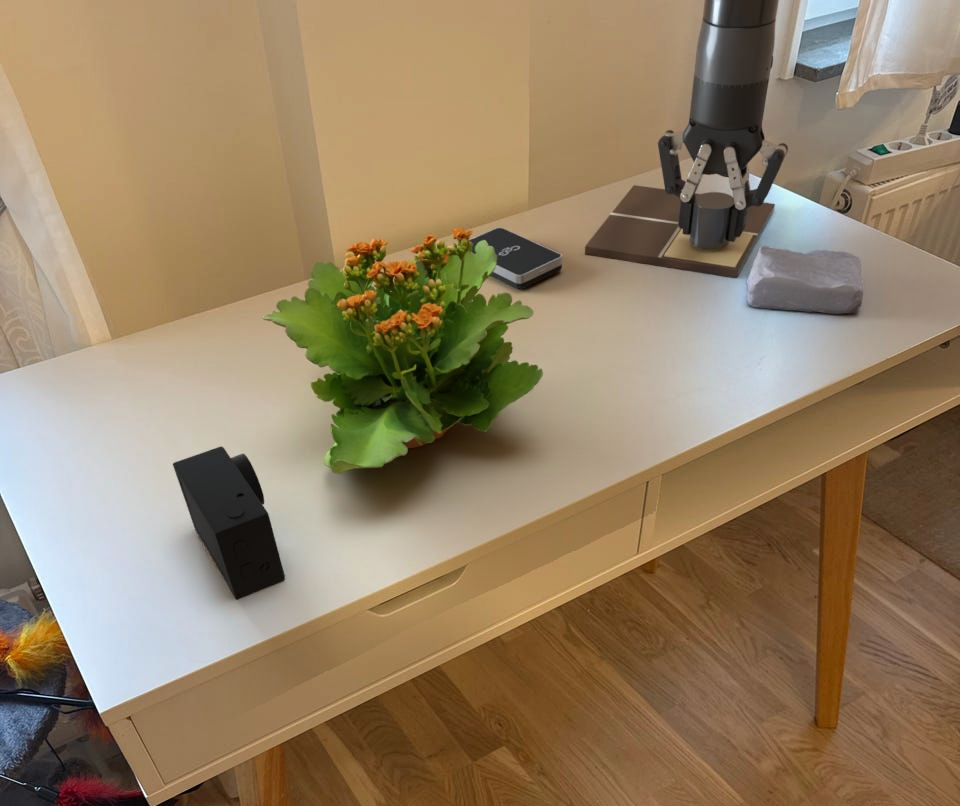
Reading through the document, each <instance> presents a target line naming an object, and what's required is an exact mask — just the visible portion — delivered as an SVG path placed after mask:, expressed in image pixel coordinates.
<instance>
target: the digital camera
mask: <svg viewBox="0 0 960 806" xmlns="http://www.w3.org/2000/svg"><path fill="white" fill-rule="evenodd" d="M172 466H173V469H174V473H175V476H176V478H177V481H178V485H179V487H180V490H181V492H182V497H183V499H184V501H185V504H186V507H187V510H188V513H189V516H190V519H191V522H192V525H193V527H194V530H195V532H196V533H197V535H198V536H199V538H200V540H201V542H202V543H203V545H204V547H205V548H206V550H207V552H208V554H209V555H210V557H211V559H212V561H213V562H214V564H215V566H216V568H217V569H218V570H219V572H220V574H221V576H222V578H223V579H224V581H225V583H226V585H227V586H228V588H229V590H230V591H231V594H232V595H233V597H234V598H235V600H238V599H241V598H243V597H246V596H248V595H251V594H253V593H255V592H258V591H260V590H262V589H265V588H267V587H271V586H273V585H276V584H278V583H280V582H282V581H284V580H285V579H286V575H285V572H284V568H283V564H282V560H281V557H280V553H279V549H278V545H277V541H276V537H275V534H274V530H273V527H272V522H271V518H270V515H269V512H268V511H267V509H266V508H265V506H264V505H265V497H264V491H263V489H262V486H261V483H260V480H259V478H258V475H257V473H256V471H255V468H254V466H253V465H252V463H251V461H250V460H249V458H248V456H247V455H246V454H245V453H240V454H238V455H235V456H233V457H231V456H230V455H229V453H228V452H227V451H226V449H225V447H223V446H218V447H214V448H212V449H209V450H207V451H206V450H205V451H204V452H200V453H198V454H195V455H192V456H188V457H186V458H183V459H180V460H177V461H174V462H173V463H172Z"/></svg>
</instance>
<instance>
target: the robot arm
mask: <svg viewBox="0 0 960 806" xmlns="http://www.w3.org/2000/svg"><path fill="white" fill-rule="evenodd" d="M779 2H780V0H704V2H703V4H704V5H703V12H702V19H701V25H700V30H699V34H698V38H697V45H696V51H695V52H696V53H695V63H694V72H693V81H692V82H693V83H692V89H691V90H692V91H691V100H690V109H689V118H688V123H687V125H686V127H685V129H684V130H682V131H676V132H675V131H673V130H672V129H668V130H666V131H665V132H664V134H663V135H662V136H661V138H659V140H658V141H657V148H658V154H659V159H660V167H661V173H662V179H663V185H664V189H665V191H666V192H667V193H668V194H674V195H676V196H678V197H679V199H680V212H679V222H678V225H679V228H680V229H683V234H685V235H689V234H690V227H691V219H692V210H693V201H694V198H695V197H696V196H695V193H696V192H697V190H698V188H699V186H700V183H701V182H702V179H703V177H704V175H707V176H711V175H718V176H720V177H722V178H728V181H729V188H730V189H731V191H732V197H734V202H735V206H734V207H733V209H732V214H731V221H730V228H729V234H728V241H731V242H734V241H735V240H736V238H737V237H740V236H741V234H742V232H743V230H744V229H745V224H746V218H747V212H748V207H750V206H761V205H762V204H763V202H764V203H765V200H766V198H767V197H768V195H769V193H770V190H771V188H772V186H773V184H774V182H775V180H776V178H777V176H778V173H779V171H780V169H781V167H782V164H783V162H784V160H785V158H786V156H787V154H788V151H789V147H788V145H787V144H786V143H785V142H784V143H783V142H781V143H778V144H775V143H774V142H772V141H768V140H766V138H765V134H764V131H763V130H764V129H763V120H764V114H765V109H766V108H765V107H766V102H767V101H766V100H767V94H768V88H769V84H770V83H769V82H770V75H771V70H772V68H773V64H774V51H775V39H776V21H777V14H778V8H779ZM683 144H684V146H685V147H686V150H687V152H688V153H689V155H690V158H691V159H692V161H693V165H692V166H691V168H690V171H689V173H688V176H687V177H686V180H684V179H682V178H683V177H682V173H681V172H682V171H681V165H680V159H679V153H680V152H681V150H682V148H683V147H682V145H683ZM758 153H761V155H762V158H761V164H762V166H763V167H766V168H765V170H764V172H763V174H762V176H761V179H760V181H759V184H758V185H757V188H755V189H751V183H750V170H749V163H750V162H751V161H752V159H753V158H754V157H755V156H757V155H758Z"/></svg>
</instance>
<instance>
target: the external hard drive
mask: <svg viewBox="0 0 960 806" xmlns="http://www.w3.org/2000/svg"><path fill="white" fill-rule="evenodd" d="M483 240H486V242H487V243H488V246H492V247H494V250H495V254H496V255H497V258H498V259H497V261H496V262H497V263H496V267H495V270H494V271H493V272H492V274H491V275H490V276H491V277H492V278H495V279H497V280H499V281H500V282H503V283H505V284H507V285H508V286H511V287H513V288H515V289H517V290H523V289H525V288H527V287H530V286H532V285H534V284H536V283H537V282H539V281H542V280H544V279H546V278H548V277H550V276H552V275H554V274H556V273H558V272H560V271H561V270H562V269H563V254H562V253H560V252H558V251H555V250H553V249H551V248H549V247H547V246H544V245H543V244H540V243H538V242H535V241H534V240H531V239H529V238H527V237H524V236H523V235H520V234H518V233H516V232H514V231H511V230H509V229H506V228H504V227H501V226H500V227H495V228H492V229H491V230H488V231H485V232H484V233H481V234H479V235H476V236H474V237H472V238H469V240H468V241H470V242H472V243H473V246H472V253H473V254H476V251H475V246H476V245H477V244H478V242H480V241H483Z"/></svg>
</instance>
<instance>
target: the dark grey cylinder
mask: <svg viewBox="0 0 960 806" xmlns="http://www.w3.org/2000/svg"><path fill="white" fill-rule="evenodd" d="M702 193H703V194H701V193H699V194H700V195H698V196H696V197H695V198H694V201H693V210H692V219H691V227H690V236H689V241H690V243H691V244H692V245H694V246H696V247H698V248H702V249H719V248H723V247H725V246H727V245H728V244H729V243H730V241H728V234H729V228H730V221H731V214H732V209H733V207H734V206H735V202H734V197H733V195H730V194H728V193H725V192H718V191H710V192H709V191H708V192H702Z"/></svg>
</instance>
